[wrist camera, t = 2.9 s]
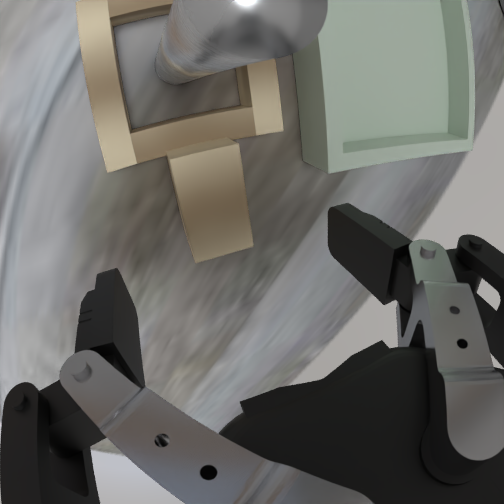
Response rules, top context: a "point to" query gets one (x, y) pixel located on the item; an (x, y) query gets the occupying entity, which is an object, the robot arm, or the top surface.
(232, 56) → the steel post
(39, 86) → the top surface
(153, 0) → the wooden frame with handle
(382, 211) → the top surface
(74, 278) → the top surface
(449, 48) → the tray
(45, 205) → the top surface
